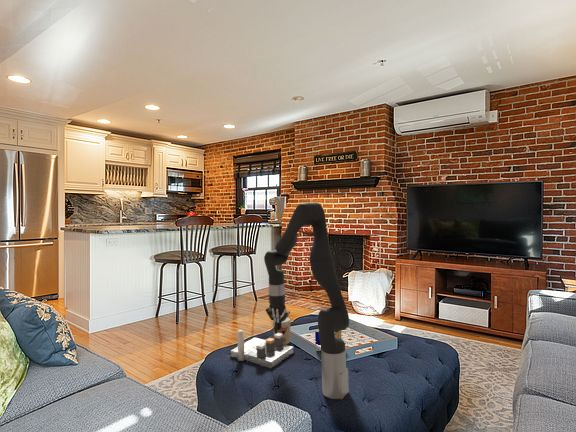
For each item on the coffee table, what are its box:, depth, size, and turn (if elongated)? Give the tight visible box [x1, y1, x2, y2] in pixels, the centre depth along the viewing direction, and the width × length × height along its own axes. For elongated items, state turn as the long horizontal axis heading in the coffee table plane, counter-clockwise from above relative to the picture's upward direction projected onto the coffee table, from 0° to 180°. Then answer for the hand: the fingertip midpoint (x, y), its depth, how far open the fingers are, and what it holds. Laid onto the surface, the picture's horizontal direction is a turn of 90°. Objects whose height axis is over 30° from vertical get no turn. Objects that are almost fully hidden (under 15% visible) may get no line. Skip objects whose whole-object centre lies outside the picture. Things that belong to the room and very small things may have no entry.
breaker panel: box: [230, 337, 294, 369], centre depth 178 cm, size 24×18×3 cm
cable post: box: [236, 329, 245, 362], centre depth 172 cm, size 4×4×14 cm
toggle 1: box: [256, 343, 266, 358], centre depth 169 cm, size 3×3×5 cm
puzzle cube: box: [314, 329, 343, 345], centre depth 181 cm, size 10×10×10 cm
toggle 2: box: [265, 337, 275, 352], centre depth 175 cm, size 3×3×5 cm
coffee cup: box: [272, 317, 292, 345], centre depth 192 cm, size 9×9×12 cm
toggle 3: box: [273, 333, 283, 347], centre depth 180 cm, size 3×3×5 cm
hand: (278, 329), depth 171 cm, fingers closed
